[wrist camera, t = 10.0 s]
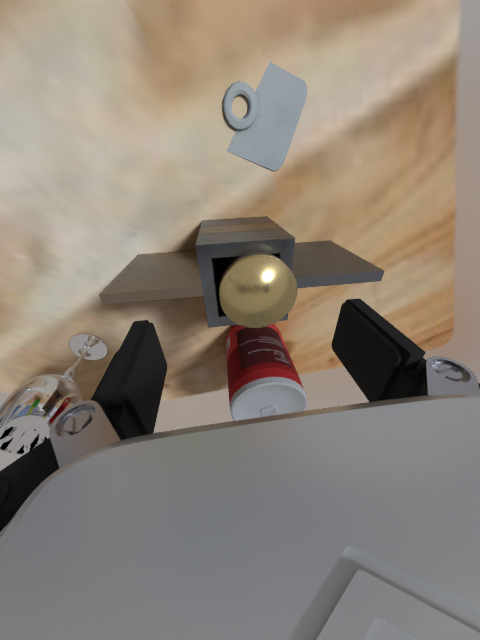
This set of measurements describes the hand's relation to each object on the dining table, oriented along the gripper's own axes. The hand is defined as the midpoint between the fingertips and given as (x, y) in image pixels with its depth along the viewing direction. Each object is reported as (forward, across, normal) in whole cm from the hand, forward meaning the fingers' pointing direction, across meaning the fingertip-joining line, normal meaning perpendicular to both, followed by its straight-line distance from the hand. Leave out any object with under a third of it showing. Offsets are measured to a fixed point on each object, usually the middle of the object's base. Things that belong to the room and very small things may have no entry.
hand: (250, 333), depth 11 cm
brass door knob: (+14, -1, 0) cm, 15 cm away
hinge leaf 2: (+14, -4, 0) cm, 15 cm away
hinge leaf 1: (+15, +3, 0) cm, 15 cm away
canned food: (+15, -2, +12) cm, 19 cm away
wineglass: (+15, +19, +11) cm, 27 cm away
